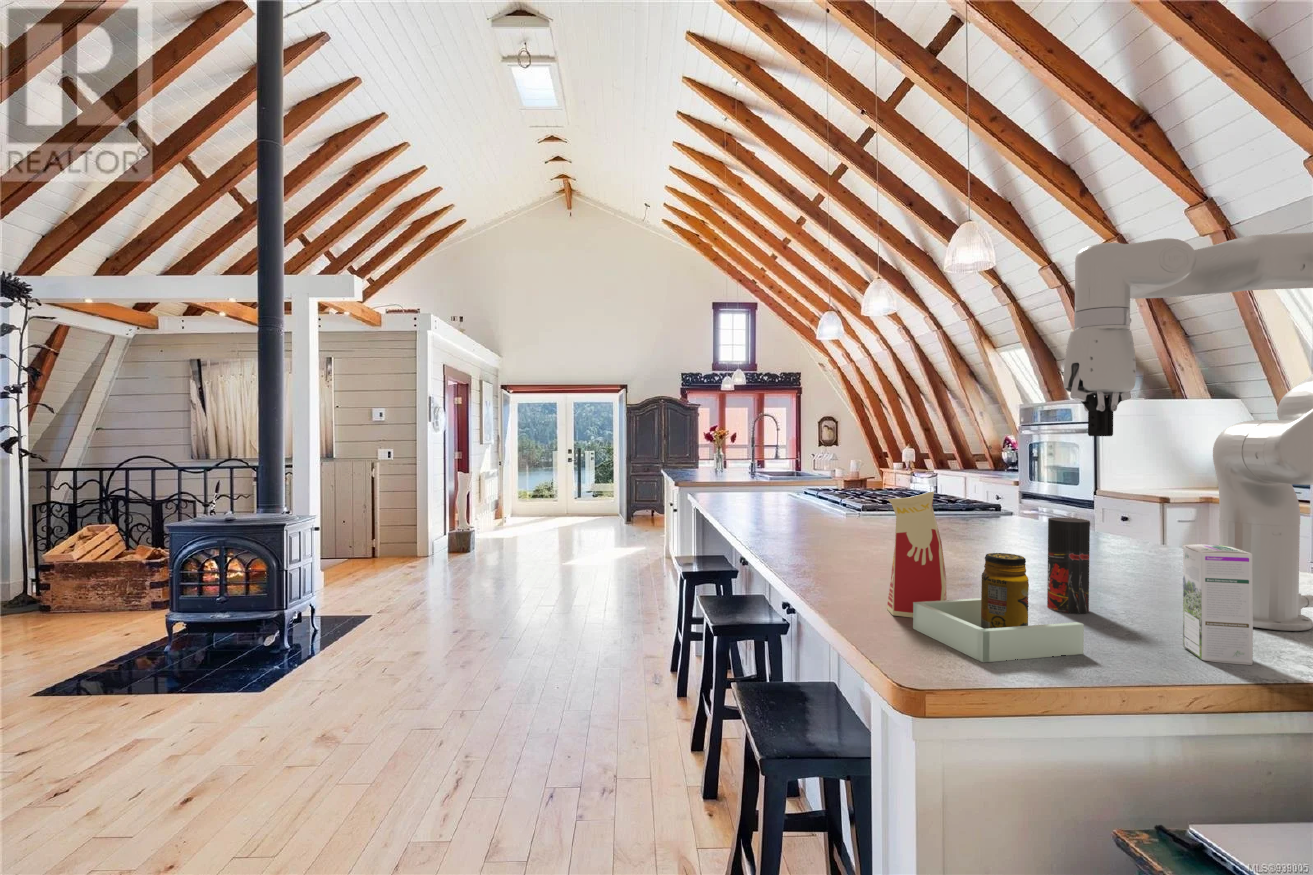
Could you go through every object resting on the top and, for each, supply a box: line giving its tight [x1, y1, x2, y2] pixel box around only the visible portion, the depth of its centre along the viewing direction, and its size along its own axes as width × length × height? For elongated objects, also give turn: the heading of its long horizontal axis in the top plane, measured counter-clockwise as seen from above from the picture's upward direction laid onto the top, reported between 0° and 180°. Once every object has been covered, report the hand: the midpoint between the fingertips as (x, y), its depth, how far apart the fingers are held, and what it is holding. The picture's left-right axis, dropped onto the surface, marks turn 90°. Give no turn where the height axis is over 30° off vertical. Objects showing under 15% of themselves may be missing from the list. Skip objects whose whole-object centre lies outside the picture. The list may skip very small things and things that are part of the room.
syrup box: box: [1182, 543, 1254, 666], centre depth 89 cm, size 6×6×14 cm
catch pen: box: [912, 597, 1085, 663], centre depth 95 cm, size 16×15×4 cm
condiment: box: [980, 552, 1030, 629], centre depth 96 cm, size 7×8×12 cm
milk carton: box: [886, 490, 948, 619], centre depth 110 cm, size 9×9×20 cm
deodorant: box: [1046, 517, 1091, 615], centre depth 112 cm, size 6×6×15 cm
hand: (1100, 435), depth 109 cm, fingers closed
